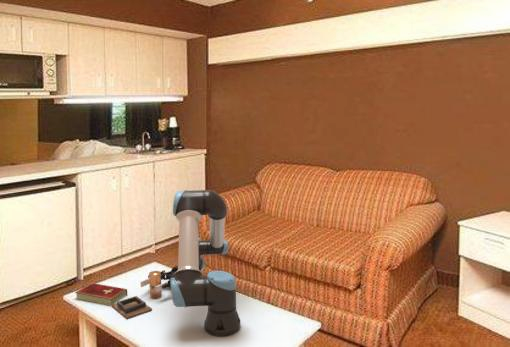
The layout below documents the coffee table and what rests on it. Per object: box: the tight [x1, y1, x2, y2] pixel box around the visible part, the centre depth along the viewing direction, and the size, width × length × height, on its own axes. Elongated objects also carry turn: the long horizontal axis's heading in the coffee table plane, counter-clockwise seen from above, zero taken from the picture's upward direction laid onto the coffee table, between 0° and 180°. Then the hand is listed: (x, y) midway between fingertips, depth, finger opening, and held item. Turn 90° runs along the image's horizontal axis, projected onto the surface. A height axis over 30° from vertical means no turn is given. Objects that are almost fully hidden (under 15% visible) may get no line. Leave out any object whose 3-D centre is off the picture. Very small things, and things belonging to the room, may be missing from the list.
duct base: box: [111, 295, 153, 320], centre depth 195 cm, size 16×12×3 cm
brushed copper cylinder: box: [148, 270, 163, 300], centre depth 206 cm, size 6×6×12 cm
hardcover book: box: [74, 282, 128, 306], centre depth 207 cm, size 12×21×4 cm, turn 70°
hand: (148, 286), depth 203 cm, fingers open, 10 cm apart
